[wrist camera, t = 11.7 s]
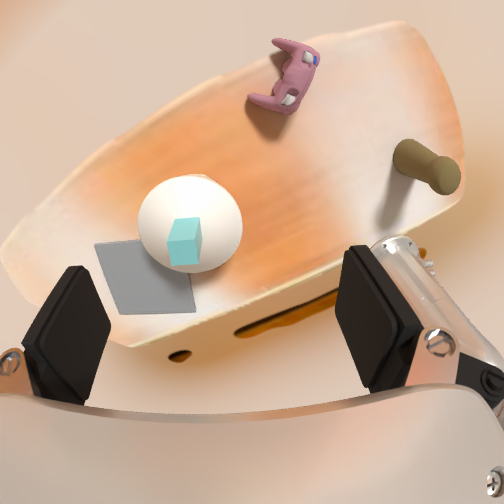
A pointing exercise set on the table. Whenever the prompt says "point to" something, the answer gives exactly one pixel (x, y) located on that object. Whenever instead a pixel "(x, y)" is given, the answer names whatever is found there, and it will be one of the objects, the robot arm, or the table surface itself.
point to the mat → (143, 280)
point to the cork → (427, 166)
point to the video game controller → (290, 78)
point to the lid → (190, 224)
